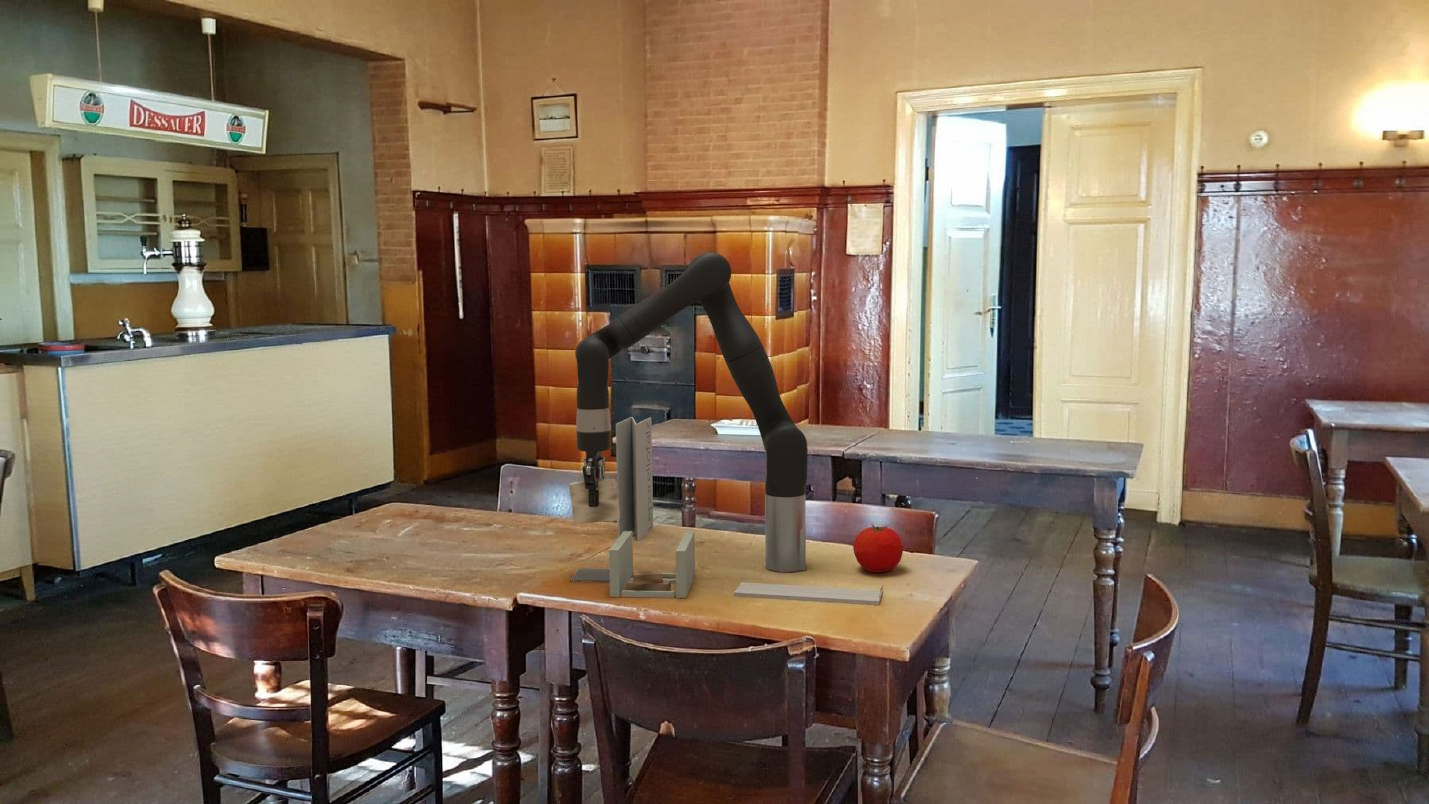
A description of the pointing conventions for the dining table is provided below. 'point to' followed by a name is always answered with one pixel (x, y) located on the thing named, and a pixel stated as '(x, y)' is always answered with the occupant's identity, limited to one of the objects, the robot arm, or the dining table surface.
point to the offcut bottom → (649, 586)
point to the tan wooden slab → (607, 502)
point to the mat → (592, 575)
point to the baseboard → (809, 593)
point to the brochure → (634, 476)
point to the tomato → (878, 549)
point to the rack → (684, 573)
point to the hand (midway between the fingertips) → (595, 505)
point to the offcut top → (647, 577)
